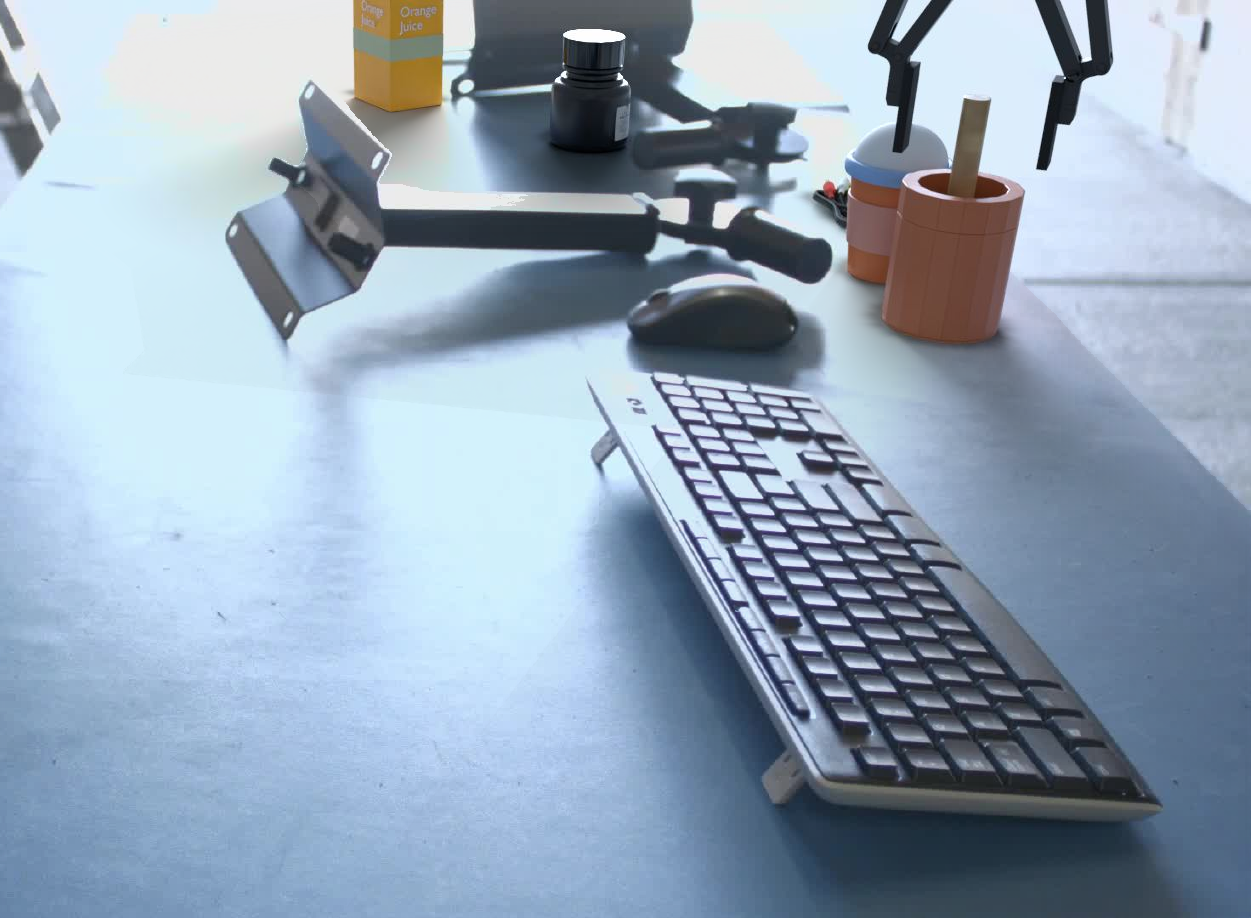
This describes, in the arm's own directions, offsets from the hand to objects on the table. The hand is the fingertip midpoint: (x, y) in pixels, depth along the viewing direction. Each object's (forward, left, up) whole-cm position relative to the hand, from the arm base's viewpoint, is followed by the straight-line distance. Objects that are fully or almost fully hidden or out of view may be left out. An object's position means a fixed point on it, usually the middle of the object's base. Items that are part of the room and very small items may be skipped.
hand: (970, 157), depth 117 cm
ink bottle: (+46, -39, -14) cm, 62 cm away
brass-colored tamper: (0, 0, -13) cm, 14 cm away
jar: (0, 0, -14) cm, 14 cm away
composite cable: (+15, -27, -14) cm, 34 cm away
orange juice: (+74, -46, -14) cm, 88 cm away
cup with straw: (+7, -10, -14) cm, 19 cm away
